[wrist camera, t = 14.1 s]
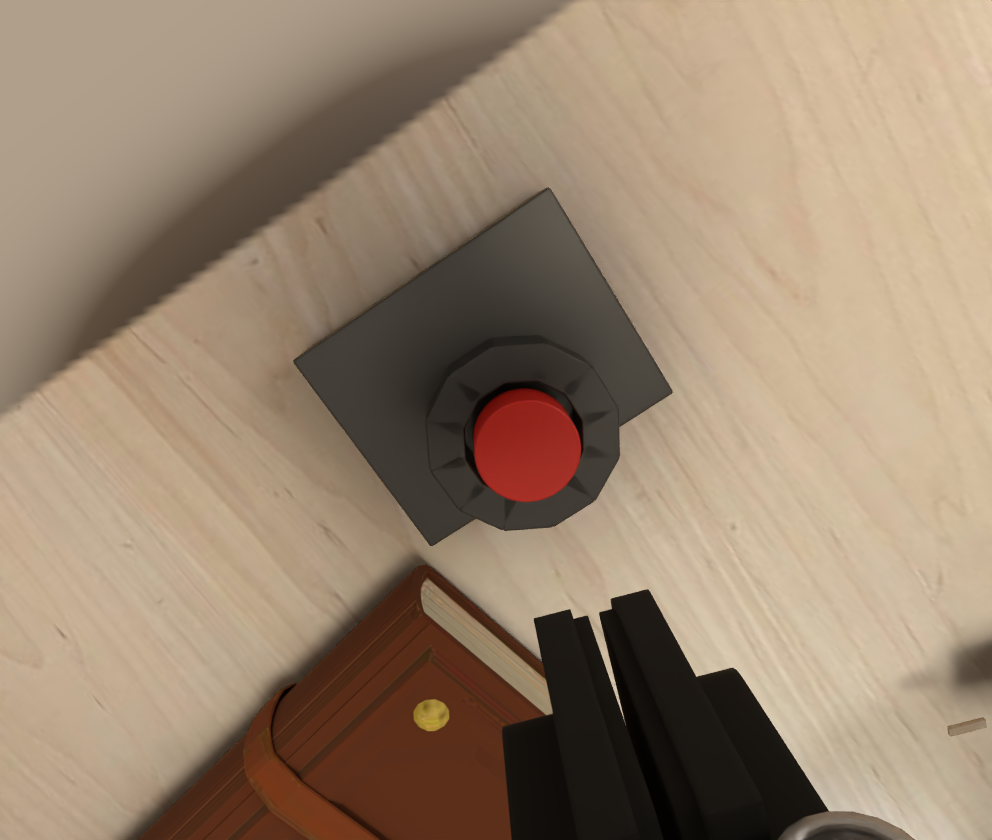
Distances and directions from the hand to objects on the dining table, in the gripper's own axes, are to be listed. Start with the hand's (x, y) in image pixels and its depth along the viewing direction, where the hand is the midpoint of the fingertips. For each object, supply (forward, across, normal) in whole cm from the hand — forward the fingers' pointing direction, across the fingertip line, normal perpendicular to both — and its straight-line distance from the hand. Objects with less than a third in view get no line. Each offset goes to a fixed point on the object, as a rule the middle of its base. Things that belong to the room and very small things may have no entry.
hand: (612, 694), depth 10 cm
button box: (+17, +1, -2) cm, 17 cm away
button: (+13, 0, 0) cm, 13 cm away
